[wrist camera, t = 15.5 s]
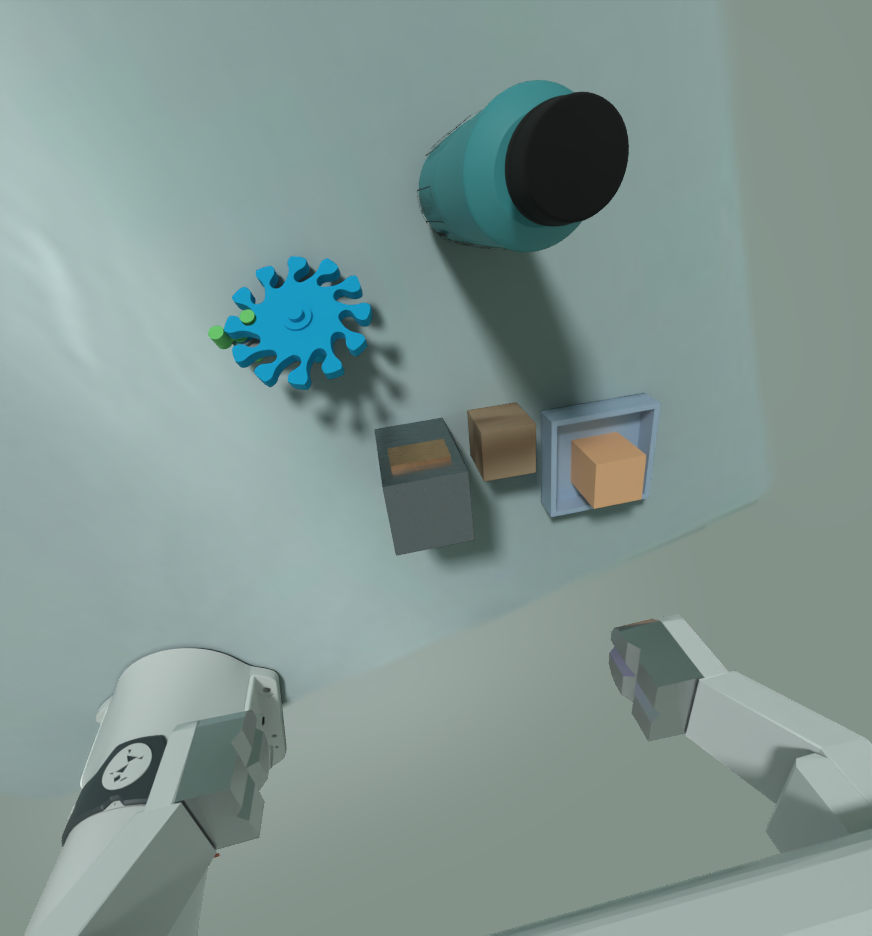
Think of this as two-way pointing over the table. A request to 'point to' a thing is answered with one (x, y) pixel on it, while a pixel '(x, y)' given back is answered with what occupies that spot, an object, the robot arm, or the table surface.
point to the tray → (591, 419)
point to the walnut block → (502, 441)
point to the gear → (295, 323)
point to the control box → (424, 486)
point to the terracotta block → (607, 469)
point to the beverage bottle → (525, 168)
